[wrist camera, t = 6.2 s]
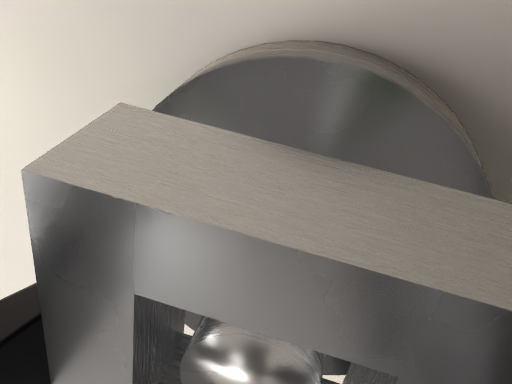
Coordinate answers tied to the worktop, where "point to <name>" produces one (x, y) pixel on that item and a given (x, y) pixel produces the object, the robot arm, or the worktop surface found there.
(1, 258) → the worktop surface
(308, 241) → the collar
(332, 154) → the hub
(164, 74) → the worktop surface
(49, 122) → the worktop surface
